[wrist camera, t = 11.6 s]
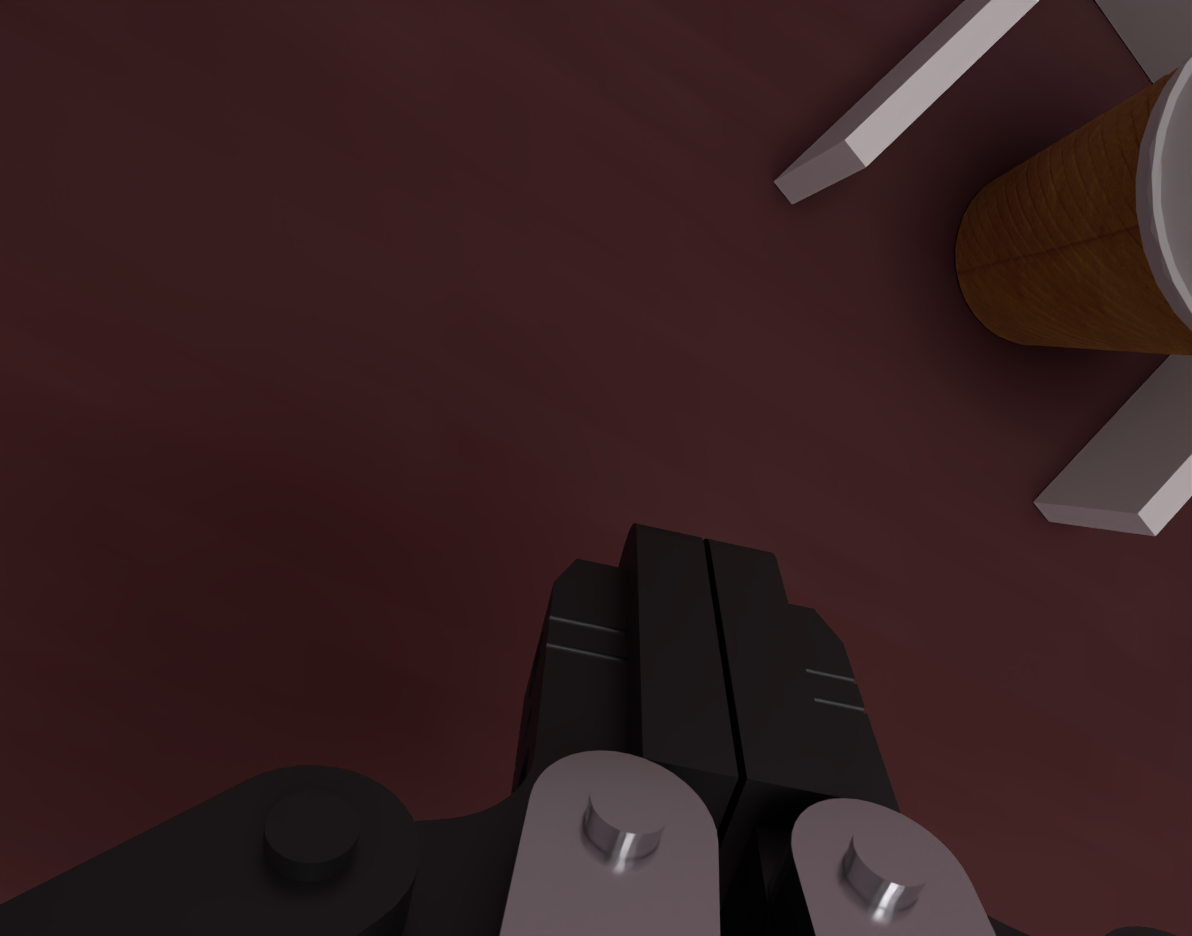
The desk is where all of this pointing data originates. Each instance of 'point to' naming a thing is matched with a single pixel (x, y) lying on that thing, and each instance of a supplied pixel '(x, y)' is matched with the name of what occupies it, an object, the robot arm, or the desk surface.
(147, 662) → the desk surface
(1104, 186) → the disposable coffee cup
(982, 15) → the grey bay
